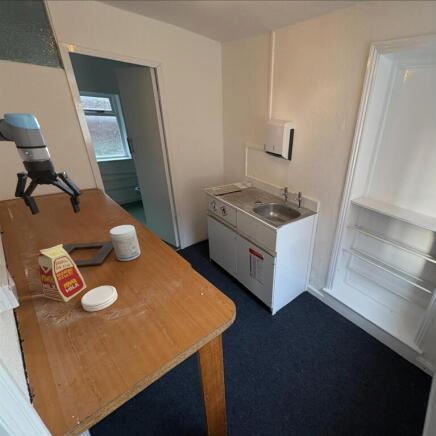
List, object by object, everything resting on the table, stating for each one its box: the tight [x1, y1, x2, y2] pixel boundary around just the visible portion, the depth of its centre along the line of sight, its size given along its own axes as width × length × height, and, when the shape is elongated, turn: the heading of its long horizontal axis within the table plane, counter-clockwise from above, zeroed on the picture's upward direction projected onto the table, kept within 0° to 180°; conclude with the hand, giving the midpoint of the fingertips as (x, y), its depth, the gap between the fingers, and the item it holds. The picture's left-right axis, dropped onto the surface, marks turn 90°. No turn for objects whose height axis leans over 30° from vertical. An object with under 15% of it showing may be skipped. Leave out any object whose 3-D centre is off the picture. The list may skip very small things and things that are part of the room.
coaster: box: [80, 285, 118, 312], centre depth 84 cm, size 10×10×4 cm
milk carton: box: [38, 243, 87, 303], centre depth 84 cm, size 9×9×20 cm
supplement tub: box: [109, 224, 141, 262], centre depth 108 cm, size 10×10×15 cm
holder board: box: [62, 240, 115, 269], centre depth 109 cm, size 22×20×2 cm
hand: (57, 212), depth 94 cm, fingers open, 13 cm apart
